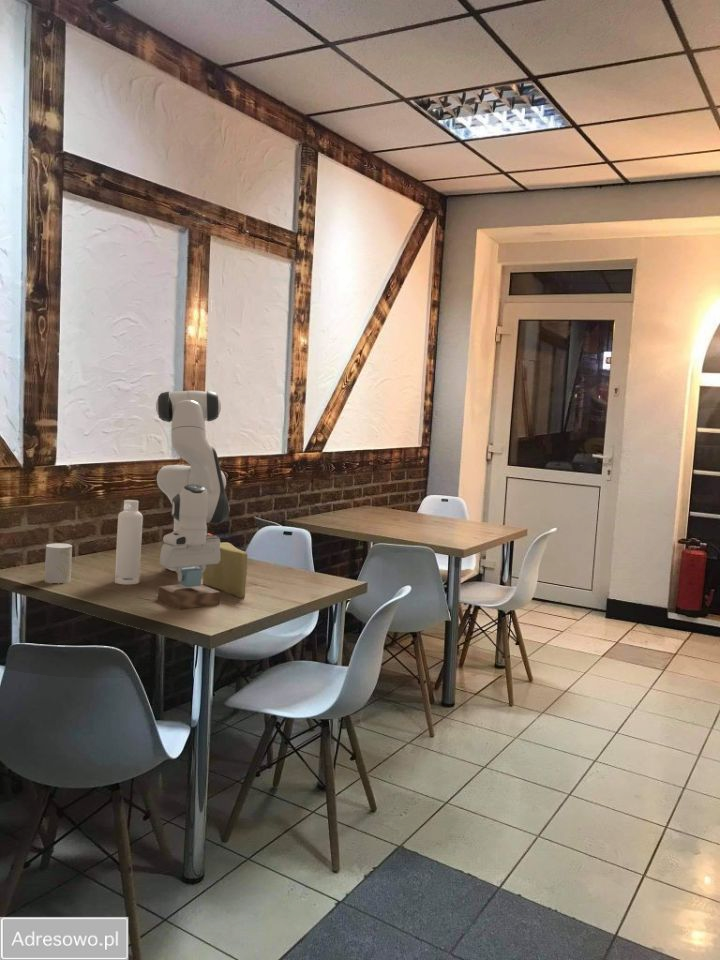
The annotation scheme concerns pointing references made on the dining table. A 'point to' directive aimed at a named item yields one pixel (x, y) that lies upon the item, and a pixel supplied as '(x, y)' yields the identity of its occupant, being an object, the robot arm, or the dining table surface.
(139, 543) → the bottle
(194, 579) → the cube
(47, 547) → the cup
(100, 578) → the dining table surface
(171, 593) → the riser
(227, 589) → the cheese
